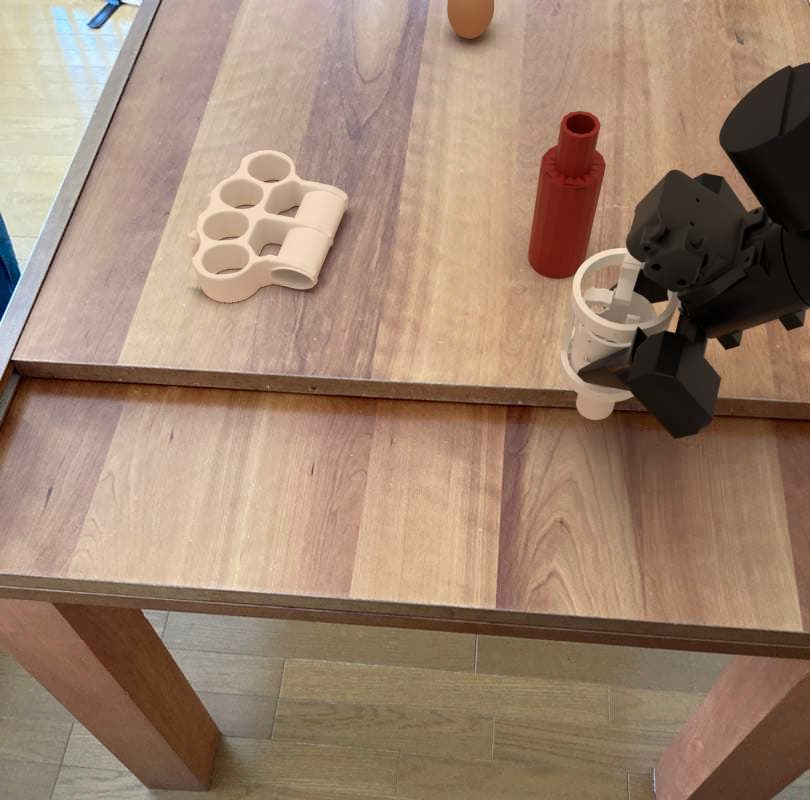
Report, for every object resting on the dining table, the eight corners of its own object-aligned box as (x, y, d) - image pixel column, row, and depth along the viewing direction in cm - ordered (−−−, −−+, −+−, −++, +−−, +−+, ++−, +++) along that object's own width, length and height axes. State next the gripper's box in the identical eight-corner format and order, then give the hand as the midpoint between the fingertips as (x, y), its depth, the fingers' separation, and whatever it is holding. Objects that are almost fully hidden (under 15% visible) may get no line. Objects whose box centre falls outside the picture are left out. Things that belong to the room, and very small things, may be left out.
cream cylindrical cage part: (645, 378, 68) (692, 245, 55) (629, 449, 66) (674, 328, 52) (561, 361, 69) (587, 227, 56) (543, 430, 67) (565, 306, 53)
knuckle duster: (306, 319, 79) (167, 292, 81) (359, 190, 87) (230, 168, 89) (301, 295, 76) (156, 267, 78) (356, 163, 84) (223, 141, 86)
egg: (454, 53, 96) (456, -8, 90) (441, 26, 98) (441, -36, 92) (498, 44, 96) (503, -18, 90) (483, 17, 99) (487, -46, 92)
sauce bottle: (576, 232, 83) (604, 97, 70) (590, 274, 81) (622, 141, 67) (522, 240, 83) (540, 106, 69) (535, 282, 81) (556, 151, 67)
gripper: (762, 55, 49) (556, 175, 60) (709, 286, 41) (486, 371, 53) (841, 190, 54) (639, 275, 66) (808, 414, 47) (587, 465, 59)
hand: (591, 339), depth 61 cm, fingers closed on cream cylindrical cage part, 7 cm apart
